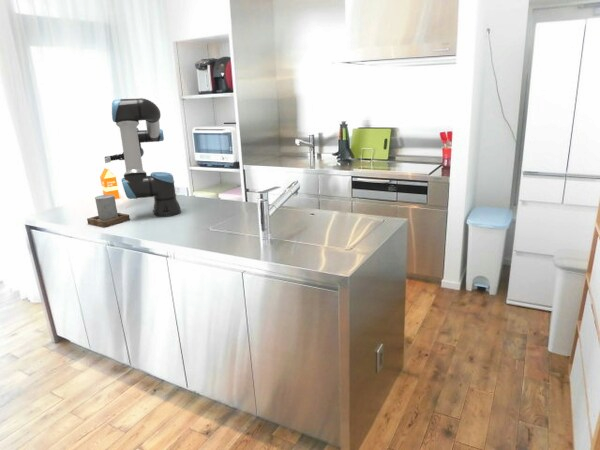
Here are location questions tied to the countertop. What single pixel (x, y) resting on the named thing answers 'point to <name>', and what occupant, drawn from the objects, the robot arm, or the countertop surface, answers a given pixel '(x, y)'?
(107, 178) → the orange juice
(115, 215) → the speckled white cylinder
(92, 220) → the walnut seat tray
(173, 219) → the countertop surface
